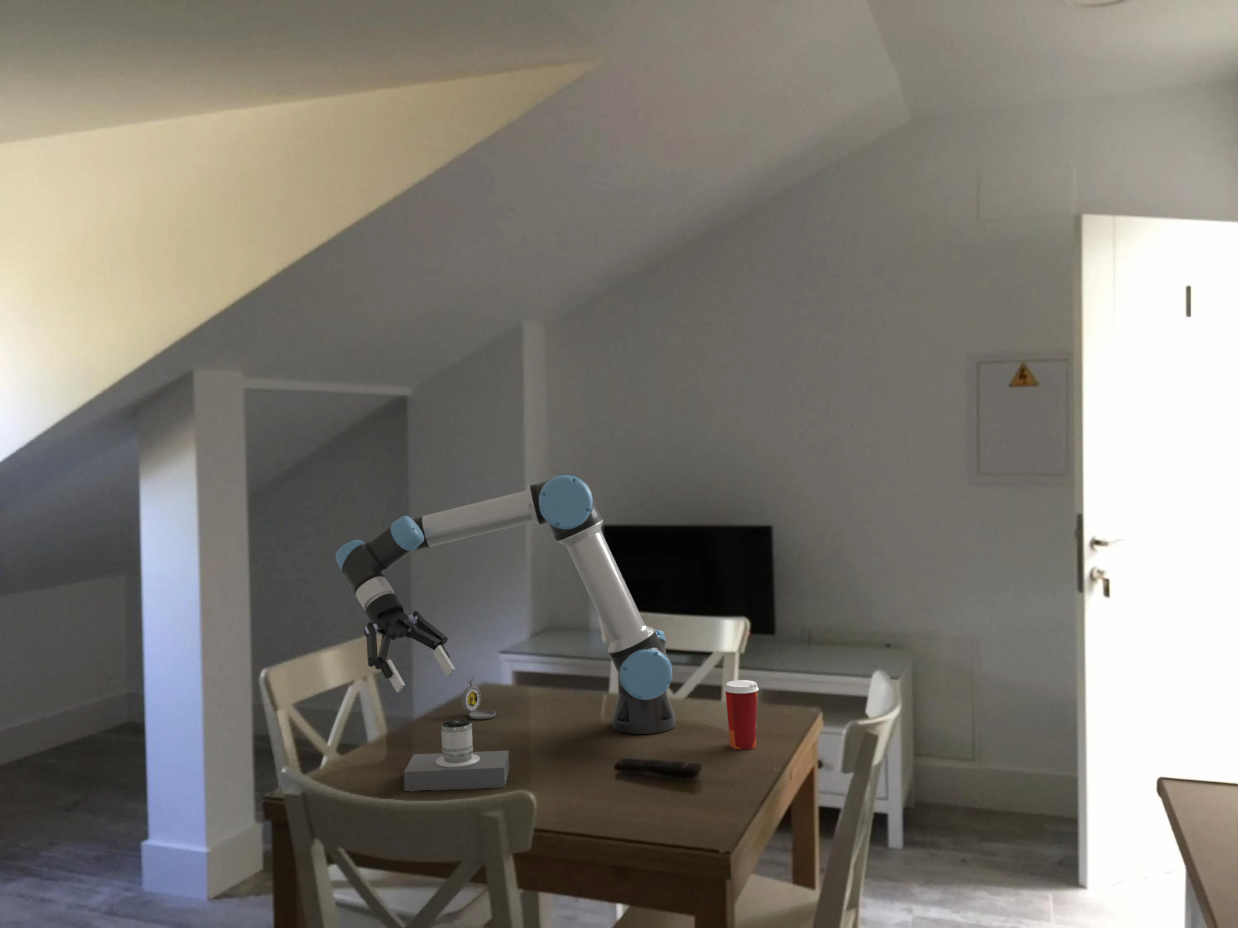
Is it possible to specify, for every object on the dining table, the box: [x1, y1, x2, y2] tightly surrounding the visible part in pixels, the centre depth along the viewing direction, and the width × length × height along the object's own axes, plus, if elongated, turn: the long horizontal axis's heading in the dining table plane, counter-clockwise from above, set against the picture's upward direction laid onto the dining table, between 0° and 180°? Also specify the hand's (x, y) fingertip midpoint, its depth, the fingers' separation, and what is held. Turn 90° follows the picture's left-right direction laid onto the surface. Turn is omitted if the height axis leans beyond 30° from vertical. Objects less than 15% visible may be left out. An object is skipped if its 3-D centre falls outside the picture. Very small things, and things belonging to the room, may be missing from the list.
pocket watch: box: [461, 675, 497, 720], centre depth 276 cm, size 8×8×10 cm
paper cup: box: [723, 679, 760, 751], centre depth 242 cm, size 8×8×14 cm
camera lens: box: [440, 718, 474, 763], centre depth 224 cm, size 6×6×8 cm
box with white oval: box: [403, 750, 510, 792], centre depth 224 cm, size 20×12×4 cm, turn 92°
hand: (426, 680), depth 233 cm, fingers open, 13 cm apart
